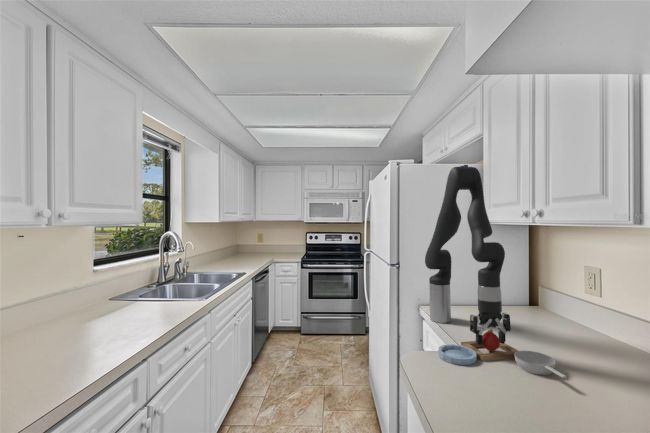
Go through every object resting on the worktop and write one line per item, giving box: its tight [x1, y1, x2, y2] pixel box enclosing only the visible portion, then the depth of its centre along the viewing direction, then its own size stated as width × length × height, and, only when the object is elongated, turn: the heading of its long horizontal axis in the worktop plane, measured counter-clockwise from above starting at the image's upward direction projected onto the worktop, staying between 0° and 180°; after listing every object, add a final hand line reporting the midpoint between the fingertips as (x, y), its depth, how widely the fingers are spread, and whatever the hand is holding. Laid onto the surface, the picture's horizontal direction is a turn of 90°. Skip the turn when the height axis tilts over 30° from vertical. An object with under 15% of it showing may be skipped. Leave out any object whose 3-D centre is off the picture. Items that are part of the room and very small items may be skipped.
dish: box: [438, 343, 478, 366], centre depth 107 cm, size 12×12×2 cm
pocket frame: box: [460, 340, 519, 362], centre depth 110 cm, size 12×15×2 cm
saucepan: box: [514, 350, 568, 379], centre depth 94 cm, size 11×18×4 cm, turn 0°
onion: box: [482, 329, 500, 353], centre depth 110 cm, size 6×6×8 cm
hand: (490, 343), depth 110 cm, fingers open, 8 cm apart
